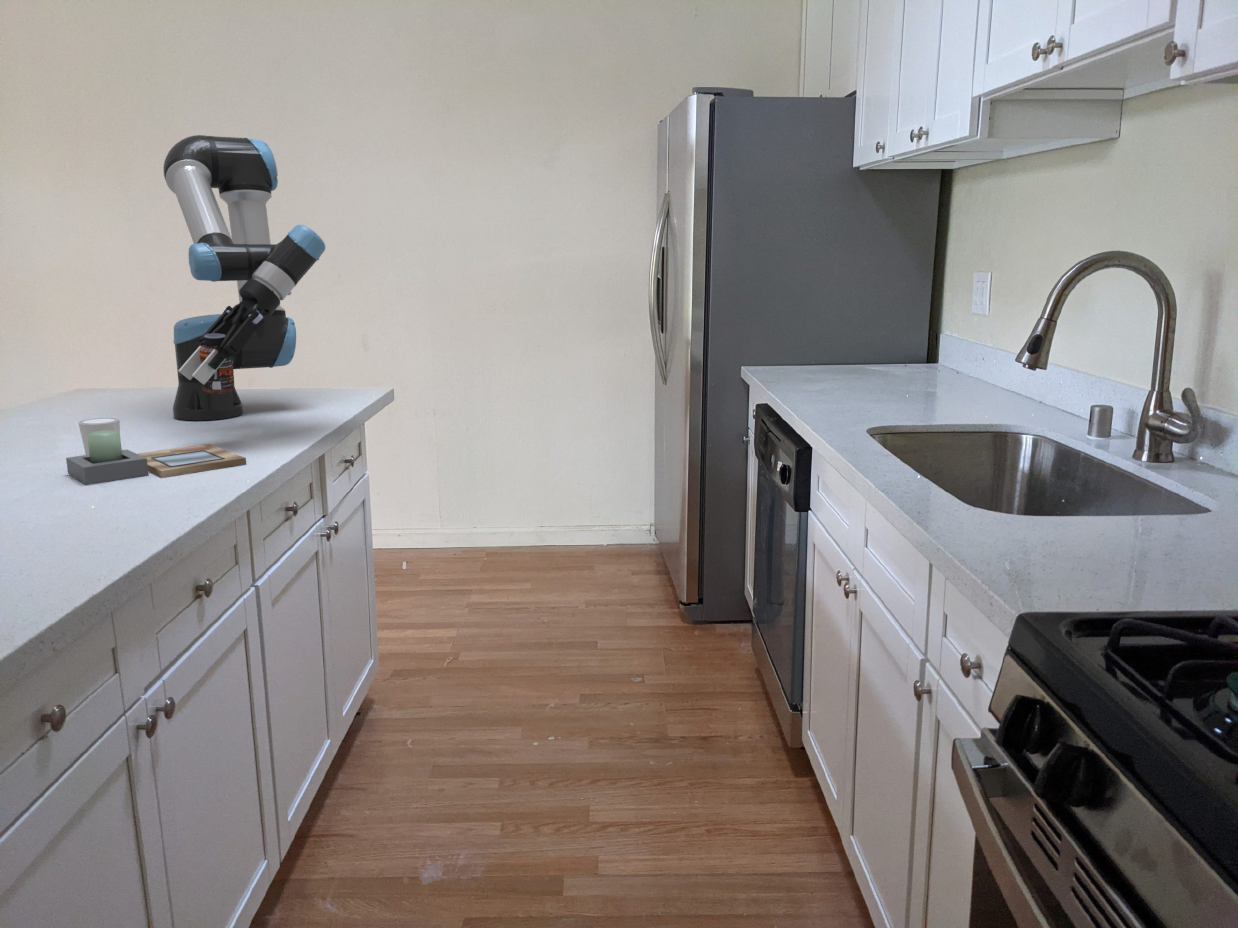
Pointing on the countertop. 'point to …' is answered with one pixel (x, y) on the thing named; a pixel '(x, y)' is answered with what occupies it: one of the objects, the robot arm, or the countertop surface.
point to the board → (190, 460)
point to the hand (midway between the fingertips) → (191, 377)
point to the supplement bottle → (224, 374)
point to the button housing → (107, 468)
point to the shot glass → (97, 428)
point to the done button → (104, 446)
